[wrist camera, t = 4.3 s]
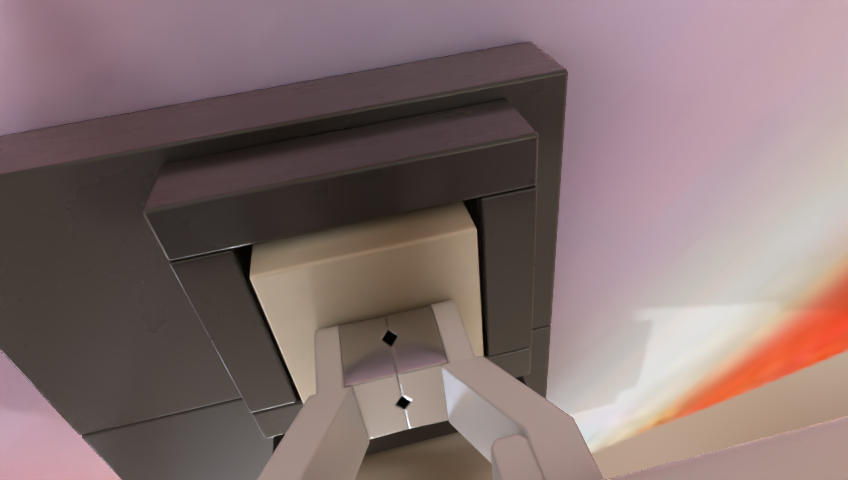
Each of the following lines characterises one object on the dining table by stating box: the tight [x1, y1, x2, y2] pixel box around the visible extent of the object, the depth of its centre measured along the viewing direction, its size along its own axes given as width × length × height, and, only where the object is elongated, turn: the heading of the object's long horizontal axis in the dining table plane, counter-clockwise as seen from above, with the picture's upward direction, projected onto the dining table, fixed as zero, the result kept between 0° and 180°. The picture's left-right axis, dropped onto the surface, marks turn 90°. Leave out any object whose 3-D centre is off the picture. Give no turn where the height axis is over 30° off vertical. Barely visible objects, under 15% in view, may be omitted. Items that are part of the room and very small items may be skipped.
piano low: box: [82, 325, 551, 480], centre depth 18 cm, size 14×8×4 cm, turn 96°
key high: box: [249, 201, 484, 405], centre depth 12 cm, size 4×4×2 cm
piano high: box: [0, 42, 568, 438], centre depth 13 cm, size 14×8×4 cm, turn 96°
